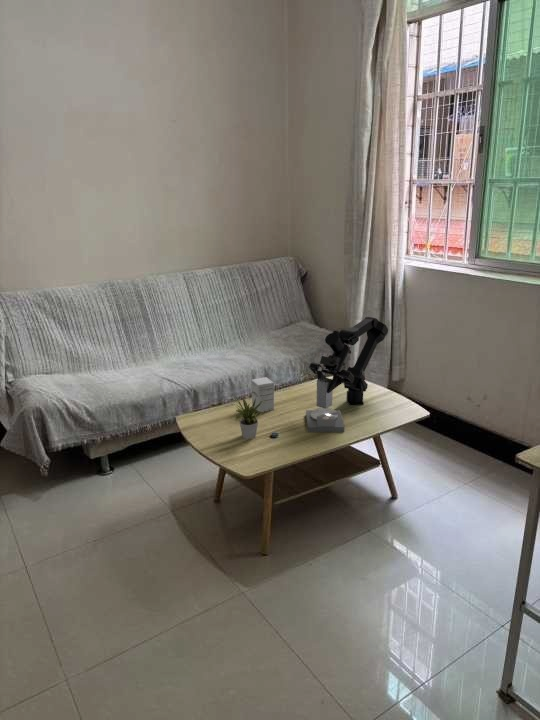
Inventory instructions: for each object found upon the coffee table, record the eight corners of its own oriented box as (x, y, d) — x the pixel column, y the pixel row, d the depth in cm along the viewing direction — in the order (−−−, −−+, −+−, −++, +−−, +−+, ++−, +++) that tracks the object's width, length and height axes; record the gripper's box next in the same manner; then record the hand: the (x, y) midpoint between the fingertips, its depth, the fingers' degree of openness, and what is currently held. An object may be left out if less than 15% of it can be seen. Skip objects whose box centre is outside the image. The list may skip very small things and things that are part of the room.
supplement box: (251, 406, 240) (250, 379, 236) (267, 403, 243) (266, 376, 239) (258, 413, 234) (257, 385, 230) (274, 409, 237) (274, 382, 232)
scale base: (339, 414, 231) (340, 402, 229) (344, 431, 216) (344, 419, 214) (306, 414, 231) (306, 402, 230) (308, 432, 216) (308, 419, 214)
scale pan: (336, 410, 230) (336, 407, 230) (339, 422, 220) (339, 419, 219) (309, 410, 230) (309, 408, 230) (311, 422, 220) (311, 419, 219)
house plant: (220, 439, 211) (218, 399, 206) (238, 425, 223) (237, 387, 217) (253, 447, 205) (251, 406, 200) (270, 432, 216) (269, 393, 211)
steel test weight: (322, 402, 226) (323, 377, 223) (332, 405, 224) (332, 379, 220) (316, 405, 223) (316, 380, 219) (325, 408, 220) (326, 382, 217)
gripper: (311, 343, 224) (294, 377, 220) (351, 352, 213) (335, 387, 209) (322, 356, 233) (306, 389, 228) (361, 365, 221) (345, 400, 217)
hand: (322, 391), depth 220 cm, fingers closed on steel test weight, 4 cm apart
